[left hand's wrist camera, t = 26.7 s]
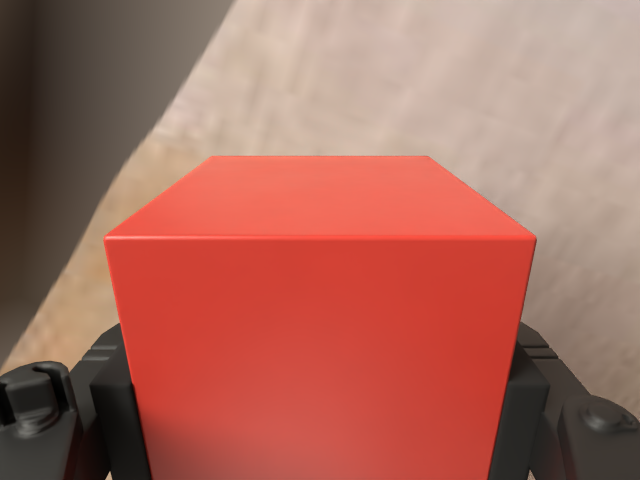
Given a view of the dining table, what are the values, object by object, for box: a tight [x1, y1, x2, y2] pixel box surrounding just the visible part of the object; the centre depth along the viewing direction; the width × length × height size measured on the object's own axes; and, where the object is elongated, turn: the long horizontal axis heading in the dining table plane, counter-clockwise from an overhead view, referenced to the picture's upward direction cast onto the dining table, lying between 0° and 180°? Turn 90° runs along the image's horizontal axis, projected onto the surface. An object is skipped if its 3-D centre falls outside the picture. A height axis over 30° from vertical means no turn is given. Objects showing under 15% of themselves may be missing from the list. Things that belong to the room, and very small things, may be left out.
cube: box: [103, 156, 537, 480], centre depth 12 cm, size 8×7×7 cm
